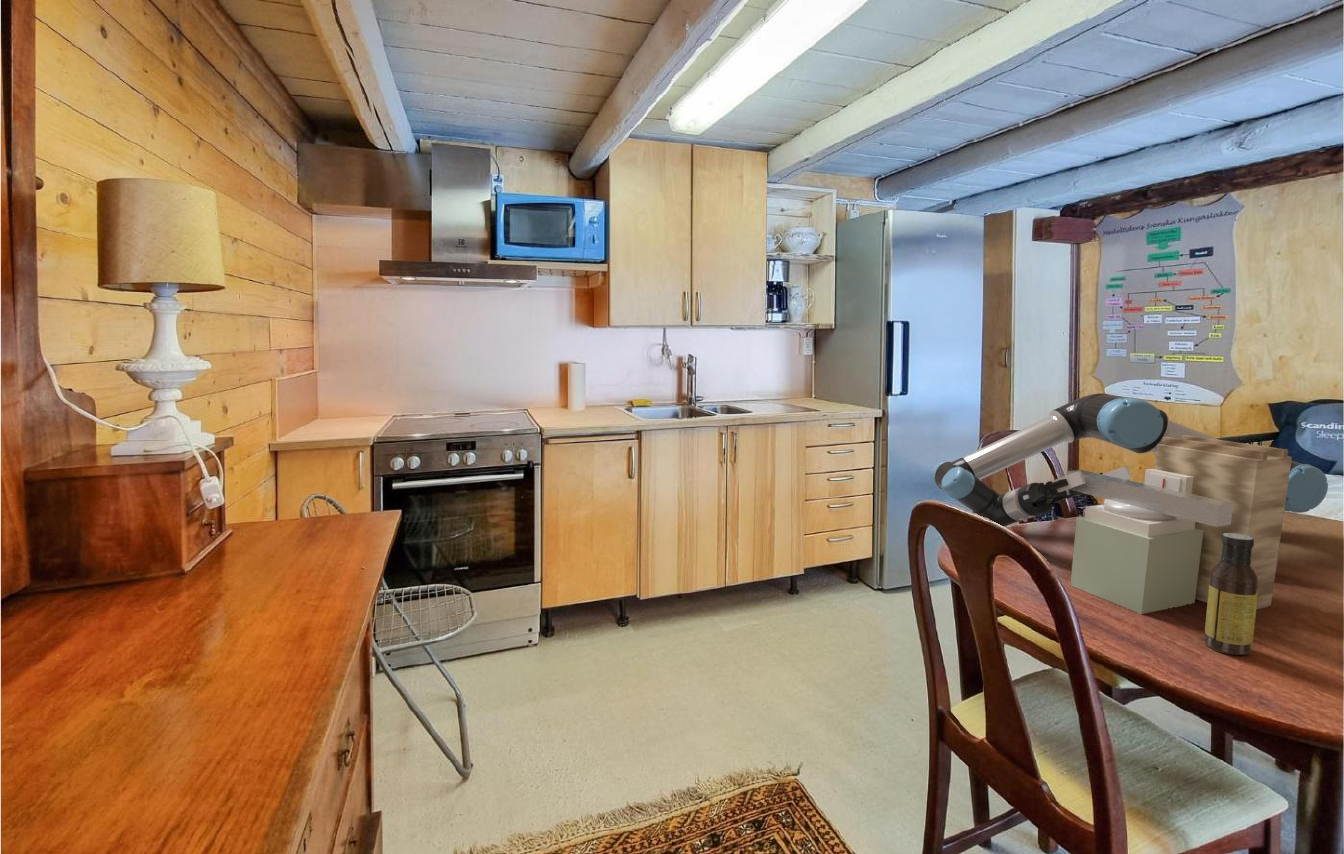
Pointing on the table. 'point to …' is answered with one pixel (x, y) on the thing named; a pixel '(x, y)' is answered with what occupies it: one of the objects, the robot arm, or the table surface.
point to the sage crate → (1136, 566)
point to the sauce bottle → (1232, 598)
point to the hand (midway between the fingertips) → (1106, 474)
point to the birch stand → (1234, 499)
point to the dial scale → (1143, 518)
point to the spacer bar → (1157, 499)
